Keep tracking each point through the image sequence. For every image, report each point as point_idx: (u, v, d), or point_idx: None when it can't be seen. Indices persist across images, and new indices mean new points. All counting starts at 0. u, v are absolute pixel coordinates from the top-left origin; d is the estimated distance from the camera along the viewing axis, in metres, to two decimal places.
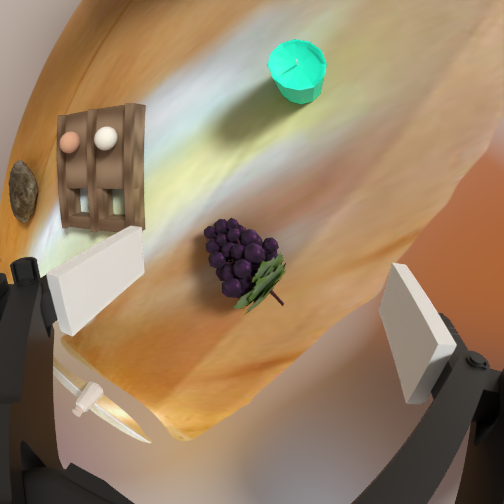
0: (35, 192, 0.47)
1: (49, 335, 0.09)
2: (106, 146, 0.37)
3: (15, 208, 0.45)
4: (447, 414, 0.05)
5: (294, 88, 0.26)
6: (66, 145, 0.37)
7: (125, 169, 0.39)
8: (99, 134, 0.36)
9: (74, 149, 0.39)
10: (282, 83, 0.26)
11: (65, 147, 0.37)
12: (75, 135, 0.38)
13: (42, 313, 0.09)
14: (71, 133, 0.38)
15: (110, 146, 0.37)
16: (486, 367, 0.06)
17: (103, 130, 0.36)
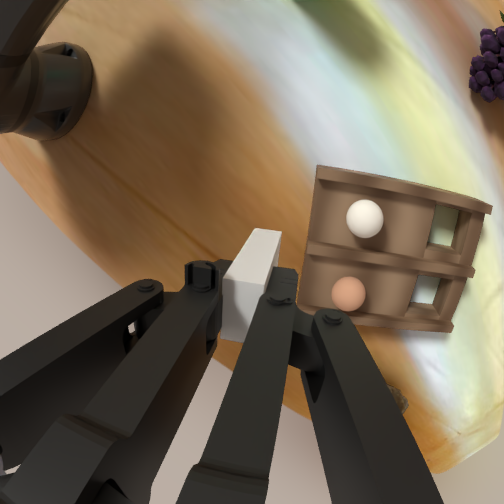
0: None
1: (208, 351, 0.10)
2: (380, 214, 0.25)
3: None
4: (260, 353, 0.07)
5: None
6: (356, 295, 0.28)
7: (414, 193, 0.25)
8: (361, 221, 0.25)
9: (362, 285, 0.29)
10: None
11: (358, 297, 0.28)
12: (342, 280, 0.29)
13: (209, 326, 0.10)
14: (337, 286, 0.29)
15: (380, 209, 0.26)
16: (291, 301, 0.10)
17: (355, 215, 0.25)
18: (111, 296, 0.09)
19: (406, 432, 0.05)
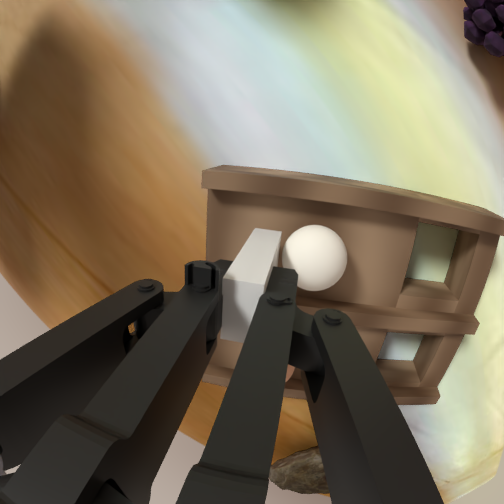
0: None
1: (208, 351, 0.10)
2: None
3: None
4: (260, 353, 0.07)
5: None
6: None
7: (377, 205, 0.15)
8: (332, 271, 0.15)
9: None
10: None
11: None
12: None
13: (209, 326, 0.10)
14: None
15: None
16: (291, 302, 0.10)
17: (320, 263, 0.14)
18: (111, 296, 0.09)
19: (406, 432, 0.05)
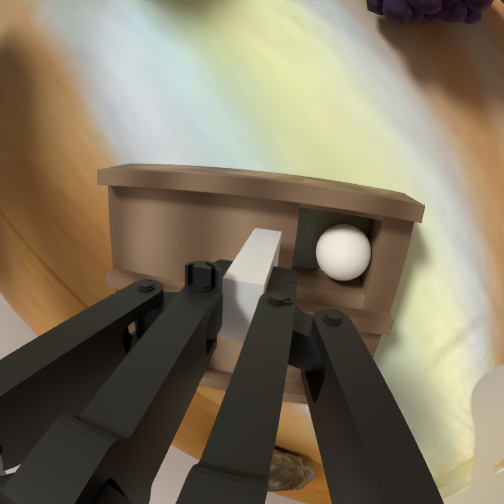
0: None
1: (208, 351, 0.10)
2: None
3: (280, 488, 0.25)
4: (260, 353, 0.07)
5: None
6: None
7: (241, 191, 0.16)
8: (360, 261, 0.17)
9: None
10: None
11: None
12: None
13: (208, 326, 0.10)
14: None
15: None
16: (291, 301, 0.10)
17: (351, 255, 0.17)
18: (111, 296, 0.09)
19: (406, 432, 0.05)
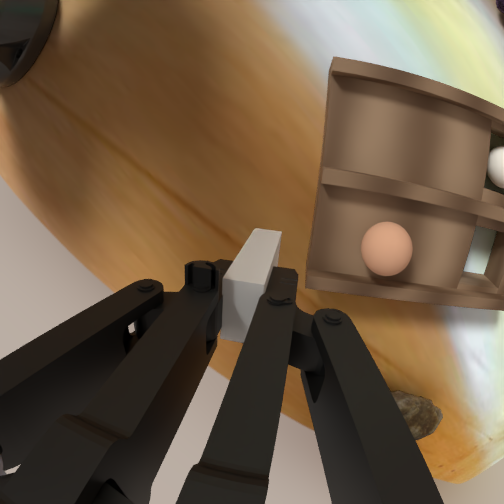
0: (401, 394, 0.26)
1: (208, 351, 0.10)
2: None
3: (419, 434, 0.24)
4: (260, 353, 0.07)
5: None
6: (401, 246, 0.17)
7: (467, 102, 0.14)
8: None
9: (407, 234, 0.18)
10: None
11: (404, 251, 0.17)
12: (377, 225, 0.18)
13: (209, 326, 0.10)
14: (371, 235, 0.18)
15: None
16: (291, 301, 0.10)
17: None
18: (111, 296, 0.09)
19: (406, 432, 0.05)
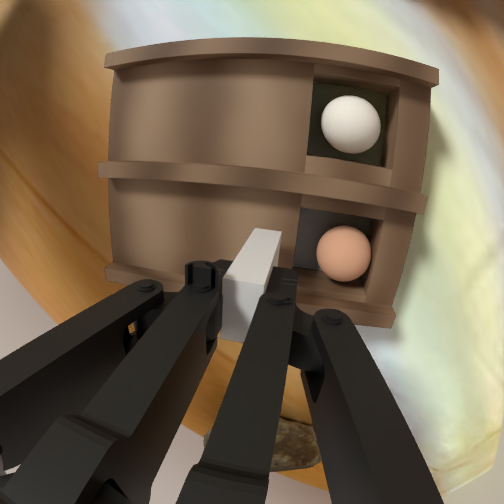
0: None
1: (208, 351, 0.10)
2: None
3: (291, 464, 0.23)
4: (260, 353, 0.07)
5: None
6: (368, 248, 0.17)
7: (254, 49, 0.13)
8: (359, 121, 0.14)
9: None
10: None
11: None
12: (337, 233, 0.17)
13: (209, 326, 0.10)
14: (336, 244, 0.17)
15: None
16: (291, 301, 0.10)
17: (347, 112, 0.14)
18: (111, 296, 0.09)
19: (406, 432, 0.05)
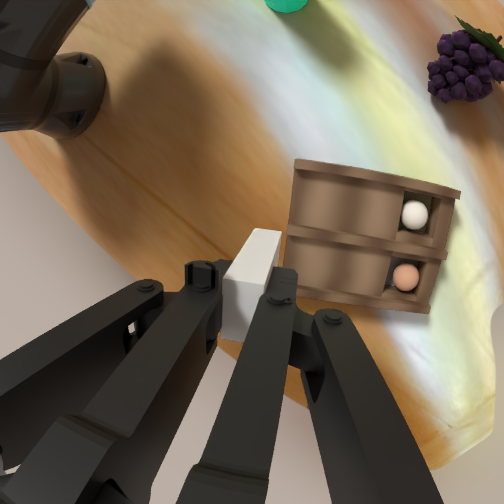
0: None
1: (208, 351, 0.10)
2: (426, 210, 0.31)
3: None
4: (260, 353, 0.07)
5: None
6: (418, 275, 0.33)
7: (382, 179, 0.29)
8: (418, 216, 0.30)
9: None
10: None
11: (418, 276, 0.33)
12: (404, 267, 0.34)
13: (209, 326, 0.10)
14: (404, 273, 0.33)
15: None
16: (291, 301, 0.10)
17: (413, 212, 0.30)
18: (111, 296, 0.09)
19: (406, 432, 0.05)
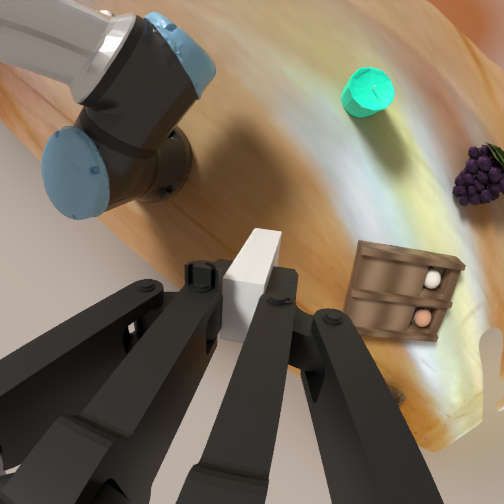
0: None
1: (208, 351, 0.10)
2: (440, 276, 0.45)
3: None
4: (260, 353, 0.07)
5: (393, 94, 0.30)
6: (430, 317, 0.47)
7: (416, 261, 0.43)
8: (433, 282, 0.44)
9: None
10: (389, 102, 0.30)
11: None
12: (422, 312, 0.47)
13: (209, 326, 0.10)
14: (421, 316, 0.47)
15: (439, 273, 0.45)
16: (291, 301, 0.10)
17: (430, 278, 0.44)
18: (111, 296, 0.09)
19: (406, 432, 0.05)
